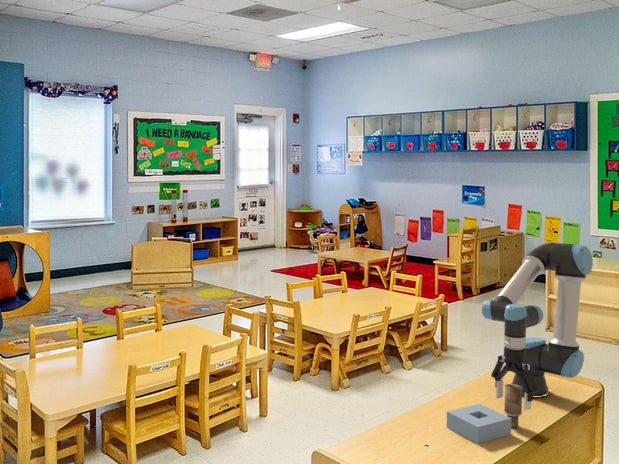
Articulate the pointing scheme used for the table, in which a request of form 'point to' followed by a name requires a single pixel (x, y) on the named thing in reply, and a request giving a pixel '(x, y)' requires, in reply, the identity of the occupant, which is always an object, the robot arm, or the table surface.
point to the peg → (513, 403)
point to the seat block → (479, 423)
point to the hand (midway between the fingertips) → (513, 403)
